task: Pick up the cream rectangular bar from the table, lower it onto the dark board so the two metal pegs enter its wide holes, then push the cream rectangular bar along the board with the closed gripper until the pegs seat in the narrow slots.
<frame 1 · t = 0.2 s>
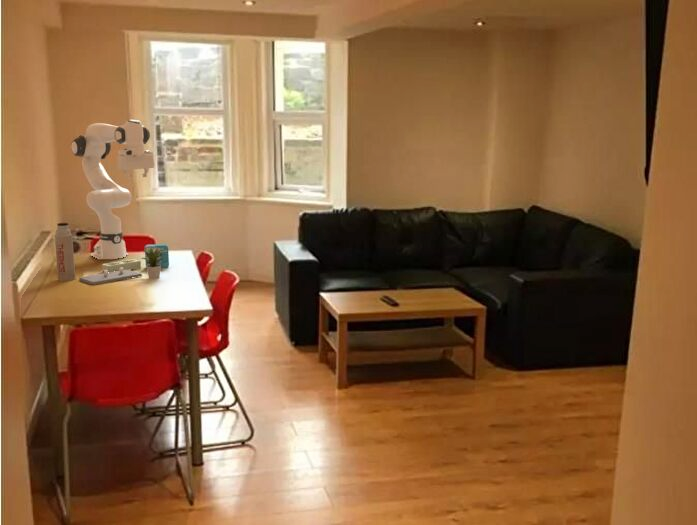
hand: (137, 177, 377), 47 cm above the table, tool pointing down, fingers open, 8 cm apart
boss board: (111, 278, 355), on the table
house plant: (154, 278, 356), on the table
cream rectangular bar: (121, 269, 375), on the table
thermos bottle: (66, 279, 353), on the table
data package: (157, 267, 382), on the table
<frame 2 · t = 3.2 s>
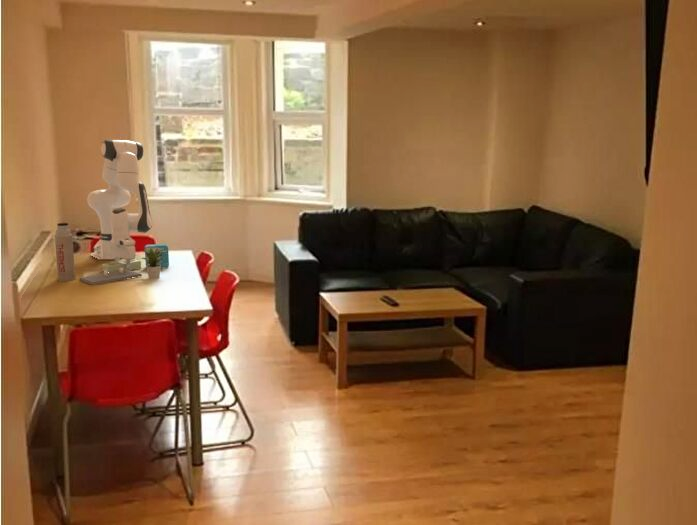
hand: (122, 266, 374), 2 cm above the table, tool pointing down, fingers open, 8 cm apart
nothing on the table moved.
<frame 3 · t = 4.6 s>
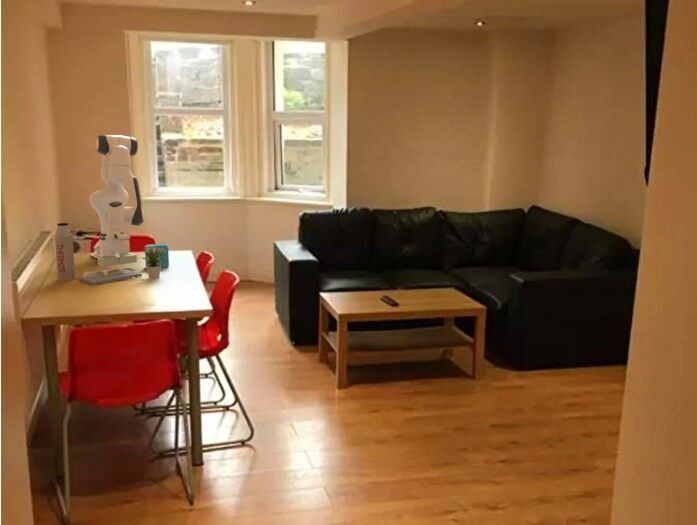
hand: (117, 259, 373), 6 cm above the table, tool pointing down, fingers closed on cream rectangular bar, 6 cm apart
cream rectangular bar: (117, 263, 374), point 4 cm above the table, touching gripper
everything else where it was.
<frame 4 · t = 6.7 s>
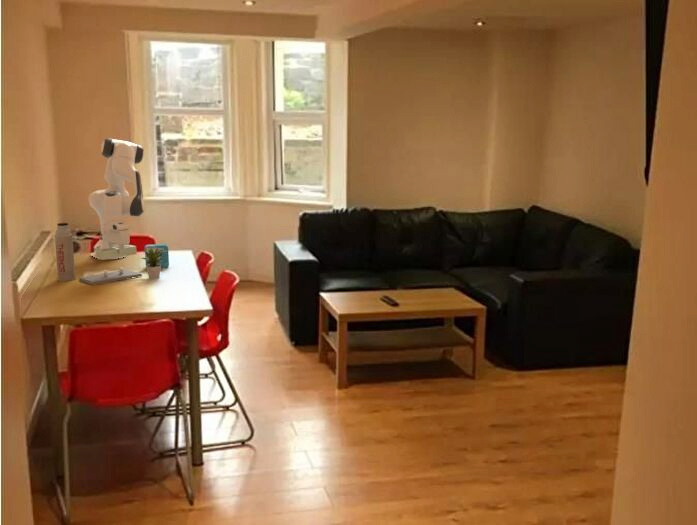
hand: (116, 252, 355), 13 cm above the table, tool pointing down, fingers closed on cream rectangular bar, 6 cm apart
cream rectangular bar: (116, 256, 355), point 11 cm above the table, touching gripper
everything else where it was.
when the fingers open (4 cm above the table, at t = 8.6 s): cream rectangular bar stays where it is, resting on boss board.
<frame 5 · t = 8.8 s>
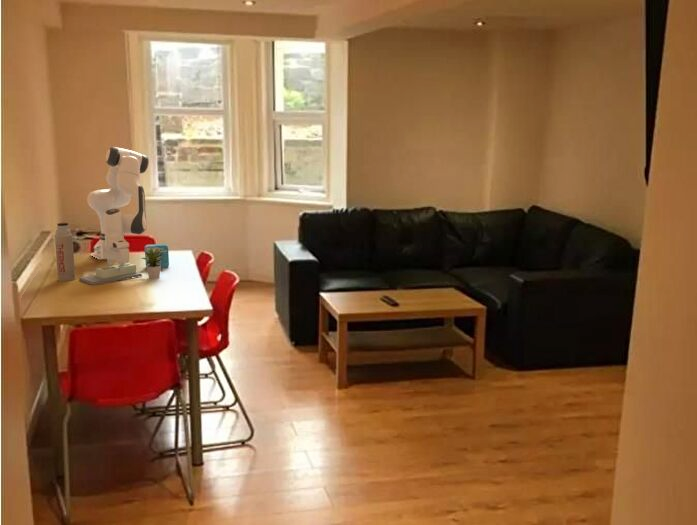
hand: (116, 269, 357), 4 cm above the table, tool pointing down, fingers open, 8 cm apart
cream rectangular bar: (116, 274, 357), point 1 cm above the table, touching boss board
everything else where it was.
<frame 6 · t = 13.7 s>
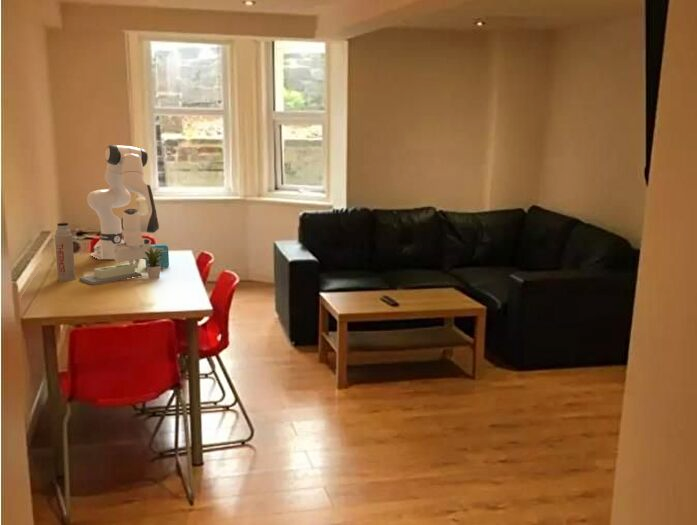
hand: (134, 268, 364), 3 cm above the table, tool pointing down, fingers closed
cream rectangular bar: (115, 274, 357), point 1 cm above the table, touching boss board, gripper
everything else where it was.
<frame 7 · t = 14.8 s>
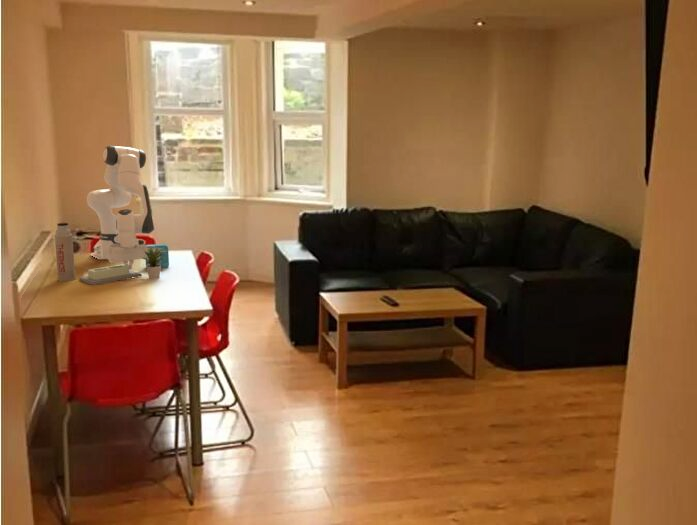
hand: (128, 269, 361), 3 cm above the table, tool pointing down, fingers closed
cream rectangular bar: (109, 275, 354), point 1 cm above the table, touching boss board, gripper
everything else where it was.
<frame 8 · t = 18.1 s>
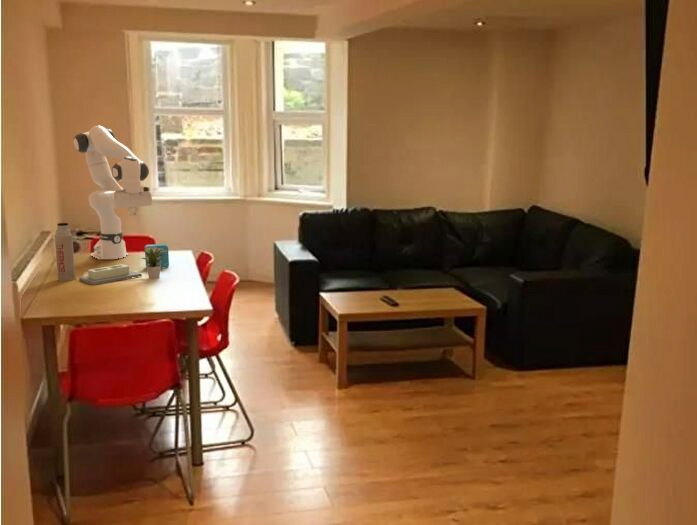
hand: (133, 215, 366), 29 cm above the table, tool pointing down, fingers closed
cream rectangular bar: (109, 275, 354), point 1 cm above the table, touching boss board
everything else where it was.
at the end: cream rectangular bar 0.6 cm from the target spot on the boss board, point 1.5 cm above the boss board's base; cream rectangular bar tilted 0°; the gripper is holding nothing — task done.
